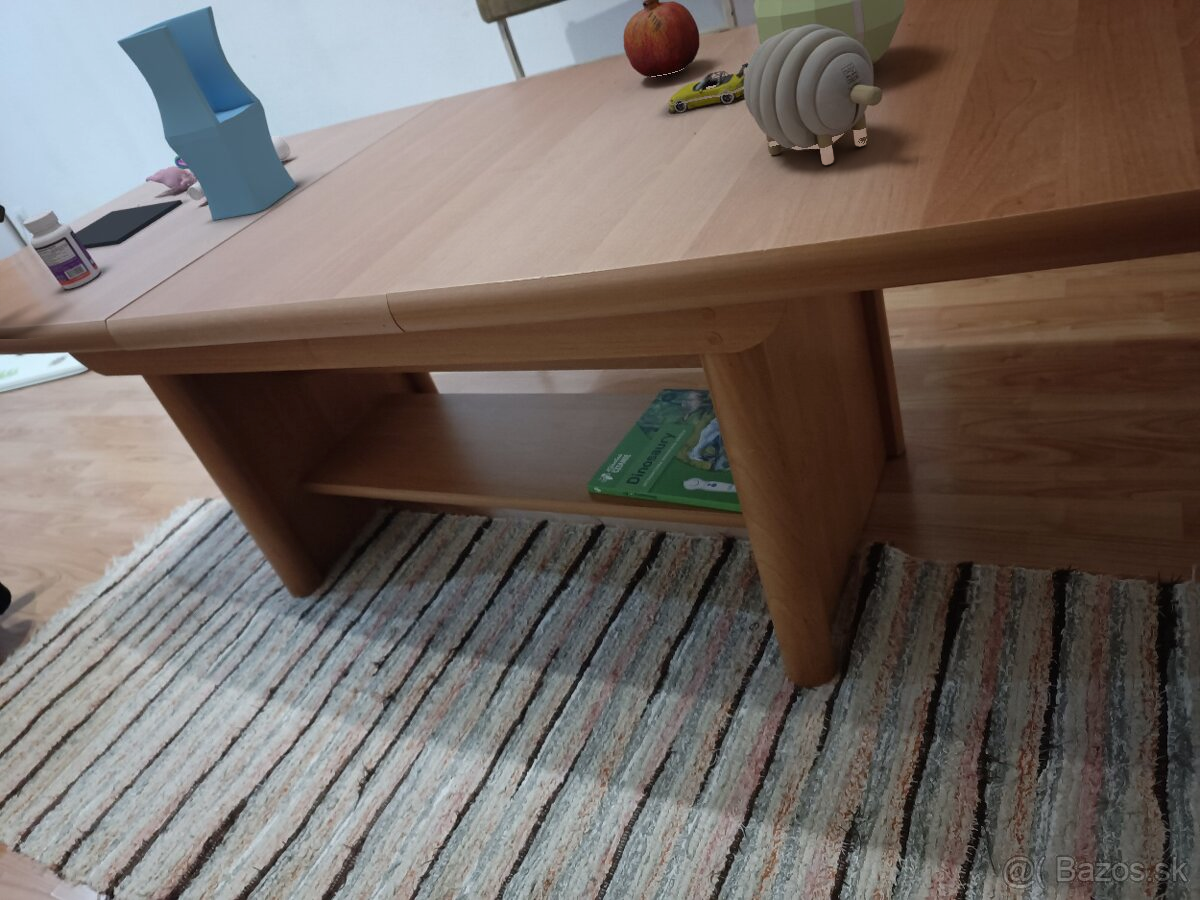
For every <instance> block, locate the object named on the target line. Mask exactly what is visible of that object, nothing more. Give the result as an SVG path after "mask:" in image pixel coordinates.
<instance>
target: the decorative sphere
mask: <svg viewBox="0 0 1200 900" xmlns="http://www.w3.org/2000/svg"><path fill="white" fill-rule="evenodd" d="M905 7H906V6H905V0H754V3H753V13H754V18H755V23H756V29H757V35H758V41H759V44H760V45H761V44H762V43H763V42H765V41H766V40H767V39H769V38H771V37H773V36H775V35H778V34H780V33H782V32H784V31H786V30H788V29H792V28H797V27H802V26H806V25H811V24H818V25H823V26H826V27H829V28H831V29H836V30H839V31H842V32H844V33H845V34H847V35H848V36H849V37H851V38H853V39H855V40H857V41H858V42H859V43H861V44H862V45H863V46H864V48H865V49H866V50H867V52H868V54H869V56H870V59H871V61H872V65H873V64H875V63H876V62H877V61H879V60H880V59H881V58H882V56H884V54H885V53H886V52H887V51H888V50H889V48H890V46H891V43H892V41H893V38H894V36H895V34H896V32H897V29H898V27H899V24H900V21H901V19H902V18H903V15H904V12H905V10H906V8H905ZM760 45H759V46H760Z"/></svg>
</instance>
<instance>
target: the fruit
mask: <svg viewBox="0 0 1200 900" xmlns="http://www.w3.org/2000/svg"><path fill="white" fill-rule="evenodd" d="M642 6H643V9H641V10H639V11H638V12H636V13H634V14H633V15H632V16H631V18H630V19H629V20H628V21H627V23H626V25H625V27H624V30H623V36H622V37H623V49H624V53H625V55H626V57H627V59H628V61H629V64H630V66H631V67H632V68H633V69H634V70H635V71H636V72H637V73H638V74H640V75H642V76H643V77H646V76H647V78H653V79H658V78H668V77H672V76H674V75H677V74H679V73H681V72H682V71H684V70H685V69H686V68H687V67H688V66H689V65H691V64H692V62H694V60H695V59H696V56H697V55H698V52H699V49H700V32H699V27H698V25H697V23H696V20H695V18H694V17H693V15H692V14H691V12H690V11H689V9H688V8H687V7H686V6H684V5H683V4H681V3H679V2H677V1H660V0H644V1H643V2H642ZM686 66H687V67H686ZM685 67H686V68H685ZM683 68H685V69H683ZM681 69H683V70H681ZM679 70H681V71H679ZM675 71H678V72H675ZM672 72H675V73H672ZM668 73H671V74H668ZM663 74H667V75H663ZM657 75H662V76H657ZM651 76H656V77H651Z"/></svg>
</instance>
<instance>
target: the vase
mask: <svg viewBox="0 0 1200 900" xmlns="http://www.w3.org/2000/svg"><path fill="white" fill-rule="evenodd" d="M116 43H117V44H118V46H119V47H120V48H121V49H122V50H123V51H124V53H125V54H126V55H127V56H128V57H129V59H130V60H131V61H132V63H133V64H134V65H135V67H136V68H137V69H138V71H139V72H140V74H141V75H142V77H143V78H144V79H145V82H146V83H147V85H148V87H149V88H150V89H151V93H152V94H153V96H154V97H153V98H154V100H155V102H156V104H157V108H158V111H159V115H160V119H161V123H162V124H161V125H162V129H163V135H164V139H165V141H166V143H167V144H168V146H169V148H170V149H171V150H172V151H173V152H174V153H175V154H176V156H179V157H180V158H181V160H182V161H183V162H184V163H185V164H186V165H187V166H188V168H189V169H190V170H191V171H192V173H193V174H194V176H195V177H196V179H197V180H198V182H199V183H200V185H201V187H202V189H203V191H204V194H205V200H206V202H207V204H208V208H209V211H210V215H211V219H212V221H217V220H218V221H219V220H223V219H230V218H236V217H242V216H246V215H252V214H257V213H259V212H262V211H265V210H266V209H268V208H269V207H271V206H272V205H273V204H275V203H276V202H277V201H279V200H280V199H281V198H283V197H284V196H285V195H287V194H288V193H290V192H291V191H293V190H294V189H295V188H297V186H298V184H297V183H296V181H295V180H294V178H292V176H291V175H290V173H289V172H288V170H287V168H286V167H285V166H284V164H283V162H282V160H280V158H279V156H278V154H277V152H276V150H275V147H274V145H273V142H272V139H271V136H272V135H271V133H270V129H269V125H268V124H269V123H268V120H267V117H266V116H267V115H266V111H265V107H264V106H263V104H262V102H261V100H260V99H259V98H258V97H257V95H255V94H254V93H253V92H252V90H250V89H249V88H248V86H247V85H246V84H245V83H244V82H243V81H242V80H241V79H240V77H239V76H238V75H237V73H236V72H235V70H234V69H233V67H232V66H231V64H230V63H229V60H228V59H227V56H226V54H225V52H224V49H223V46H222V44H221V41H220V37H219V34H218V29H217V25H216V20H215V16H214V12H213V7H212V6H211V5H209V6H206V7H202V8H199V9H196V10H193V11H190V12H187V13H184V14H181V15H179V16H175V17H172V18H168V19H166V20H162V21H160V22H158V23H155V24H153V25H150V26H148V27H146V28H143V29H141V30H139V31H136V32H134V33H131V34H129V35H128V36H124V37H123V38H120V39H119V40H117V41H116ZM189 169H188V170H189ZM190 170H189V171H190Z"/></svg>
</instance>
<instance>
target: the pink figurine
mask: <svg viewBox="0 0 1200 900" xmlns="http://www.w3.org/2000/svg"><path fill="white" fill-rule="evenodd" d="M174 164H175V166H174V165H173V166H169V167H167V168H162V169H159V170H157V171H156V172H155V173H154V174H153V175H149V176H147V177H146V178H145V182H146V183H148V182H150V181H151V182H154V183H158V184H162V185H164V186H166V187H167V188H169V189H171V190H175V191H178V190H180V191H185V190H188V188H189V185H190V186H192V185H193V184H194V183H196V182H197V179H196V177H195V176H194V174H193V173H192V171H191V170H190V169H189V168H188V166H187V165H186V164H185V163H184V162H183V160H182V159H181V158H180V157H179V156H178V155H176V156H175V157H174ZM188 170H189V171H190V172H189V171H188Z"/></svg>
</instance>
